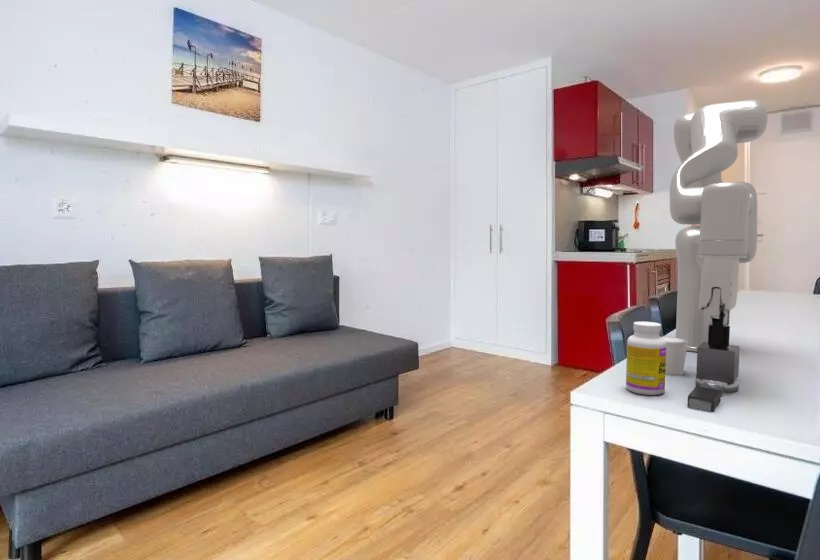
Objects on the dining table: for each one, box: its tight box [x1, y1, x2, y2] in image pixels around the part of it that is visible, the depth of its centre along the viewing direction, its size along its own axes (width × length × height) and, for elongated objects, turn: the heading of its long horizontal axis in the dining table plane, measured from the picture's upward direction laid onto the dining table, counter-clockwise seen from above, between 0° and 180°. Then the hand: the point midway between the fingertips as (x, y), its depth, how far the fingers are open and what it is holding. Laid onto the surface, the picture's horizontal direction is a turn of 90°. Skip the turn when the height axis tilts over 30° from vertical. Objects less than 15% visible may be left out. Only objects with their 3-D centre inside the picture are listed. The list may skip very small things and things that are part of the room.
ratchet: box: [686, 377, 740, 413], centre depth 88 cm, size 20×7×6 cm, turn 139°
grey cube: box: [695, 342, 740, 384], centre depth 93 cm, size 6×6×6 cm
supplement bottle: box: [625, 321, 666, 396], centre depth 91 cm, size 7×7×13 cm
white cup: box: [661, 336, 688, 376], centre depth 104 cm, size 7×7×7 cm
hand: (718, 346), depth 92 cm, fingers closed
